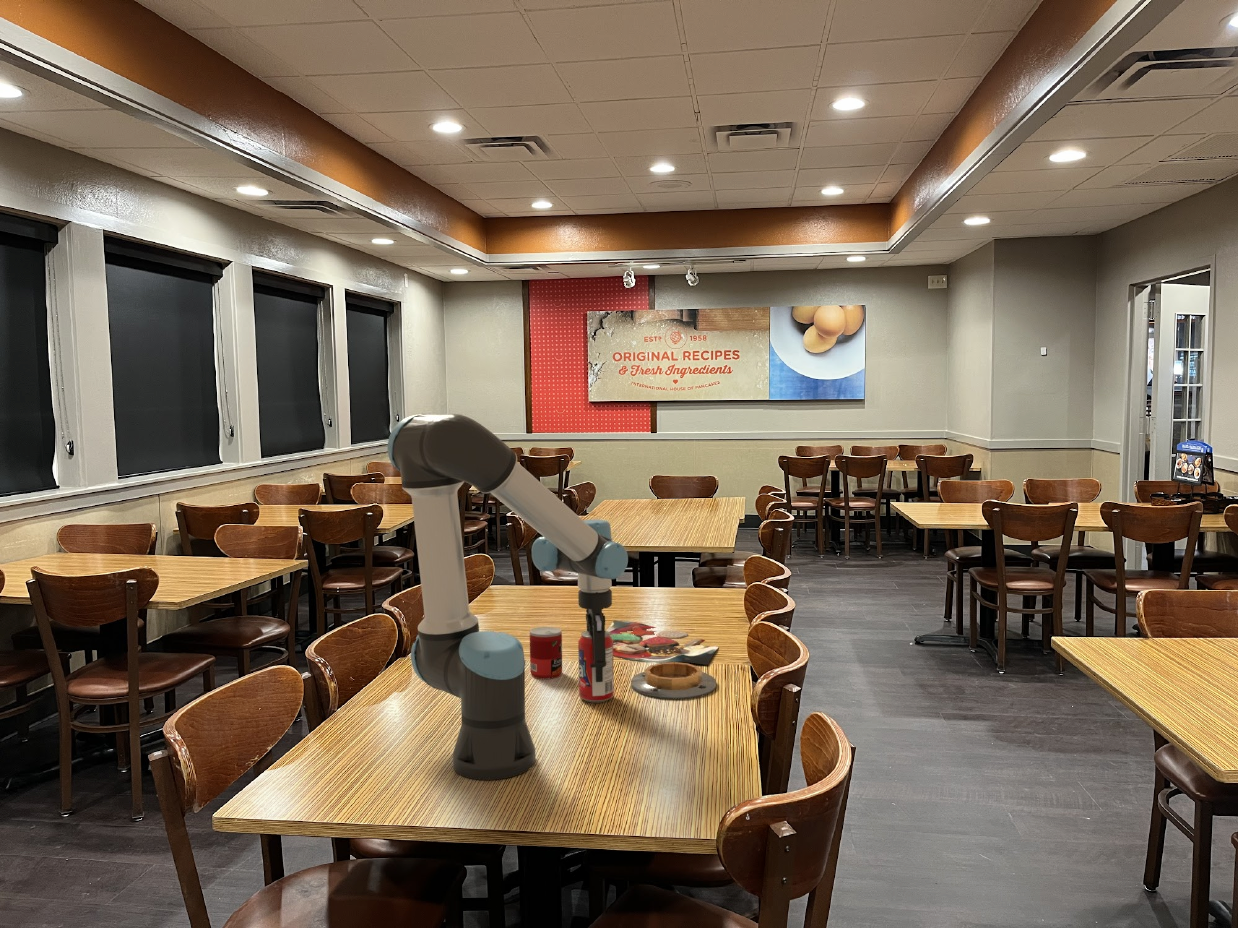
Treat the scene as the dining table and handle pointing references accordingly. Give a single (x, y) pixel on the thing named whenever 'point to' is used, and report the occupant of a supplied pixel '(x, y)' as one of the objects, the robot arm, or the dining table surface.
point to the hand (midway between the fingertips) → (596, 688)
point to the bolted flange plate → (673, 681)
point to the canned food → (546, 652)
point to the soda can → (586, 671)
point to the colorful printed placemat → (656, 645)
